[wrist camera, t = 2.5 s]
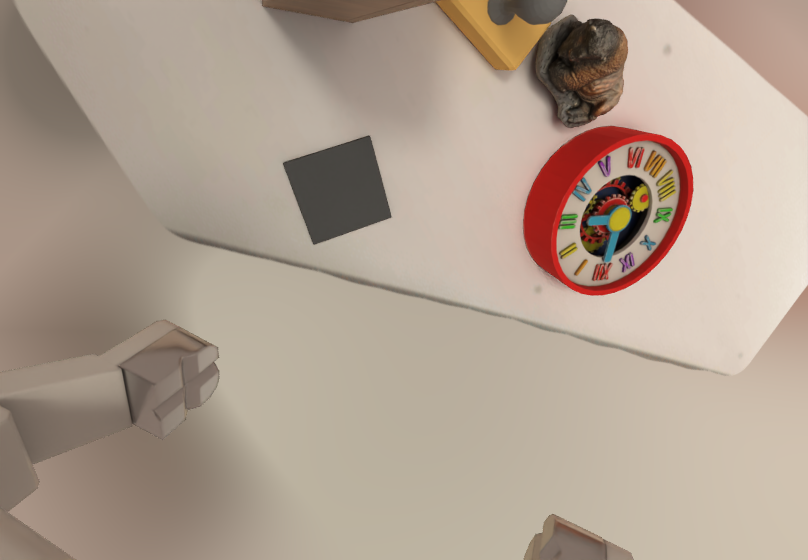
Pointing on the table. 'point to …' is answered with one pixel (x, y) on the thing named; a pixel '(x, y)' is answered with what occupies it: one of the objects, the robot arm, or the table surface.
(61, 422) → the robot arm
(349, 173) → the pad
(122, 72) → the table surface
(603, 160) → the toy clock
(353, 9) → the cabinet
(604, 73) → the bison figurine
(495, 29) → the rubber stamp
